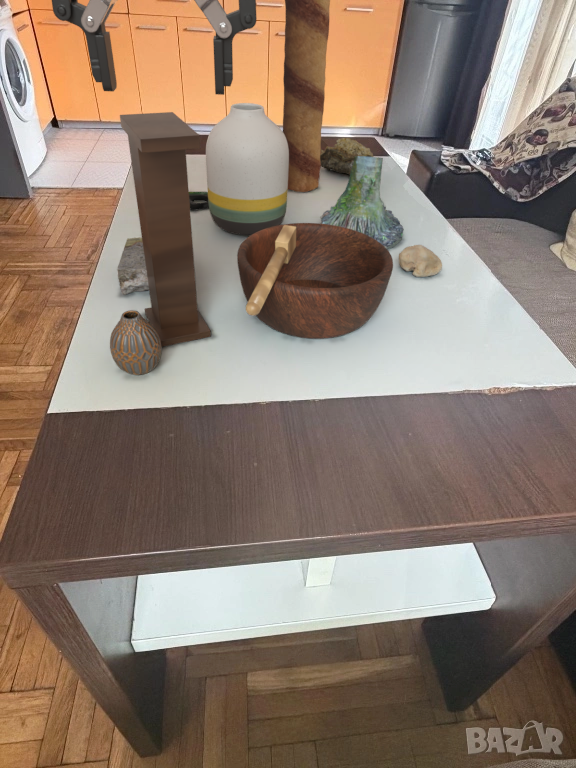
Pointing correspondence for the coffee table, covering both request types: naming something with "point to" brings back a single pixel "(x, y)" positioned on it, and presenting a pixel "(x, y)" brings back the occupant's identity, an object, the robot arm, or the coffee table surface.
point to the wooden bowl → (318, 279)
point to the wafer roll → (304, 89)
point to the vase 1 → (135, 344)
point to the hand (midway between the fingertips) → (165, 91)
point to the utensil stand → (166, 222)
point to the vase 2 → (247, 171)
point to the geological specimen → (133, 267)
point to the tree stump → (365, 205)
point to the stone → (420, 261)
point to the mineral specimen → (343, 155)
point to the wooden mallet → (273, 268)
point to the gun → (198, 197)
